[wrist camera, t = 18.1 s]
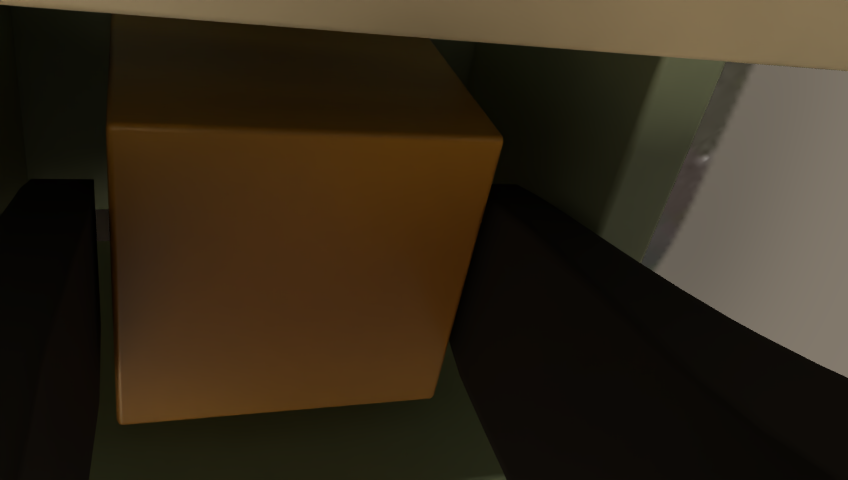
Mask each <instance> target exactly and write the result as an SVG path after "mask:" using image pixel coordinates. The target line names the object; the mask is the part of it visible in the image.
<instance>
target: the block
mask: <svg viewBox="0 0 848 480" xmlns="http://www.w3.org/2000/svg"><path fill="white" fill-rule="evenodd" d="M502 145H503V136H502V135H501V133H500V132H499V131H498V129H497V128H496V127H495V125H494V124H493V123H492V121H491V120H490V119H489V117H488V116H487V115H486V113H485V112H484V111H483V109H482V108H481V107H480V105H479V104H478V103H477V101H476V100H475V99H474V97H473V96H472V95H471V93H470V92H469V91H468V89H467V88H466V87H465V85H464V84H463V83H462V81H461V80H460V79H459V77H458V76H457V75H456V73H455V72H454V71H453V69H452V68H451V67H450V65H449V64H448V63H447V61H446V60H445V59H444V57H443V56H442V55H441V53H440V52H439V51H438V49H437V48H436V47H435V45H434V44H433V43H432V41H431V40H430V39H429V38H419V37H406V36H393V35H381V34H368V33H355V32H342V31H330V30H317V29H304V28H291V27H279V26H266V25H253V24H240V23H227V22H215V21H202V20H189V19H176V18H164V17H151V16H138V15H125V14H112V13H111V26H110V47H109V67H108V88H107V108H106V153H107V179H108V206H109V232H110V259H111V286H112V312H113V339H114V365H115V392H116V419H117V421H118V423H119V424H121V425H129V424H141V423H152V422H164V421H175V420H187V419H198V418H210V417H222V416H233V415H245V414H256V413H268V412H280V411H291V410H303V409H314V408H326V407H338V406H349V405H361V404H372V403H384V402H396V401H407V400H419V399H430V398H432V397H433V396H434V393H435V389H436V386H437V382H438V378H439V375H440V371H441V367H442V364H443V360H444V356H445V353H446V349H447V345H448V342H449V338H450V335H451V331H452V327H453V324H454V320H455V316H456V313H457V309H458V305H459V302H460V298H461V295H462V291H463V287H464V284H465V280H466V276H467V273H468V269H469V265H470V262H471V258H472V254H473V251H474V247H475V244H476V240H477V236H478V233H479V229H480V225H481V222H482V218H483V214H484V211H485V207H486V204H487V200H488V196H489V193H490V189H491V185H492V182H493V178H494V174H495V171H496V167H497V163H498V160H499V156H500V153H501V149H502Z"/></svg>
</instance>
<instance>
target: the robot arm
mask: <svg viewBox="0 0 848 480" xmlns="http://www.w3.org/2000/svg"><path fill="white" fill-rule="evenodd" d="M449 342H450V346H451V349H452V352H453V356H454V359H455V362H456V365H457V369H458V372H459V375H460V377H461V380H462V382H463V384H464V387H465V389H466V391H467V394H468V396H469V398H470V400H471V403H472V405H473V407H474V409H475V412H476V414H477V416H478V418H479V421H480V423H481V425H482V427H483V429H484V432H485V434H486V436H487V438H488V440H489V443H490V445H491V447H492V449H493V451H494V453H495V456H496V458H497V460H498V462H499V464H500V467H501V469H502V471H503V473H504V475H505V477H506V480H848V378H847V377H845V376H843V375H840V374H838V373H836V372H834V371H831V370H830V369H827V368H825V367H823V366H820V365H819V364H817V363H815V362H813V361H811V360H809V359H807V358H805V357H803V356H801V355H799V354H797V353H795V352H793V351H791V350H789V349H787V348H785V347H783V346H781V345H779V344H777V343H775V342H773V341H771V340H770V339H767V338H766V337H764V336H762V335H760V334H758V333H756V332H754V331H752V330H751V329H749V328H747V327H745V326H743V325H741V324H739V323H738V322H736V321H734V320H732V319H731V318H729V317H727V316H725V315H724V314H722V313H720V312H719V311H717V310H715V309H714V308H712V307H710V306H709V305H707V304H705V303H704V302H702V301H700V300H699V299H697V298H695V297H693V296H692V295H690V294H688V293H687V292H685V291H683V290H682V289H680V288H679V287H677V286H675V285H674V284H672V283H671V282H669V281H667V280H666V279H664V278H663V277H661V276H660V275H658V274H656V273H655V272H653V271H652V270H650V269H649V268H647V267H646V266H644V265H642V264H641V263H639V262H638V261H636V260H635V259H633V258H632V257H630V256H629V255H627V254H626V253H624V252H623V251H621V250H620V249H618V248H617V247H615V246H614V245H612V244H611V243H609V242H608V241H606V240H605V239H603V238H602V237H600V236H599V235H597V234H596V233H594V232H593V231H591V230H590V229H588V228H587V227H585V226H584V225H582V224H581V223H579V222H578V221H576V220H575V219H573V218H572V217H570V216H569V215H567V214H566V213H564V212H563V211H561V210H559V209H558V208H556V207H555V206H553V205H552V204H550V203H549V202H547V201H545V200H544V199H542V198H540V197H539V196H537V195H535V194H534V193H532V192H530V191H528V190H526V189H524V188H523V187H521V186H519V185H517V184H492V185H491V189H490V193H489V196H488V200H487V204H486V207H485V211H484V214H483V218H482V222H481V225H480V229H479V233H478V236H477V240H476V244H475V247H474V251H473V254H472V258H471V262H470V265H469V269H468V273H467V276H466V280H465V284H464V287H463V291H462V295H461V298H460V302H459V305H458V309H457V313H456V316H455V320H454V324H453V327H452V331H451V335H450V338H449ZM100 349H101V315H100V295H99V275H98V254H97V234H96V214H95V193H94V179H30V180H29V181H28V182H27V183H26V184H24V185H23V186H22V187H21V188H20V189H19V190H18V192H17V193H16V195H15V196H14V198H13V199H12V200H11V202H10V203H9V205H8V206H7V207H6V209H5V210H4V211H3V213H2V214H1V215H0V480H89V475H90V468H91V461H92V453H93V446H94V439H95V432H96V424H97V417H98V409H99V398H100Z"/></svg>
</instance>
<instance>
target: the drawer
mask: <svg viewBox="0 0 848 480" xmlns="http://www.w3.org/2000/svg"><path fill="white" fill-rule="evenodd" d="M110 26H111V13H100V12H87V11H74V10H61V9H49V8H36V7H23V6H10V5H0V215H1V214H2V213H3V211H4V210H5V209H6V207H7V206H8V205H9V203H10V202H11V200H12V199H13V198H14V196H15V195H16V193H17V192H18V190H19V189H20V188H21V187H22V186H23V185H24V184H26V183H27V182H28V181H29V180H30V179H94V193H95V209H109V206H108V179H107V153H106V108H107V88H108V67H109V47H110ZM429 39H430V40H431V41H432V43H433V44H434V45H435V47H436V48H437V49H438V51H439V52H440V53H441V55H442V56H443V57H444V59H445V60H446V61H447V63H448V64H449V65H450V67H451V68H452V69H453V71H454V72H455V73H456V75H457V76H458V77H459V79H460V80H461V81H462V83H463V84H464V85H465V87H466V88H467V89H468V91H469V92H470V93H471V95H472V96H473V97H474V99H475V100H476V101H477V103H478V104H479V105H480V107H481V108H482V109H483V111H484V112H485V113H486V115H487V116H488V117H489V119H490V120H491V121H492V123H493V124H494V125H495V127H496V128H497V129H498V131H499V132H500V133H501V135H502V136H503V145H502V149H501V153H500V156H499V160H498V163H497V167H496V171H495V174H494V178H493V182H492V184H517V185H519V186H521V187H523V188H524V189H526V190H528V191H530V192H532V193H534V194H535V195H537V196H539V197H540V198H542V199H544V200H545V201H547V202H549V203H550V204H552V205H553V206H555V207H556V208H558V209H559V210H561V211H563V212H564V213H566V214H567V215H569V216H570V217H572V218H573V219H575V220H576V221H578V222H579V223H581V224H582V225H584V226H585V227H587V228H588V229H590V230H591V231H593V232H594V233H596V234H597V235H599V236H600V237H602V238H603V239H605V240H606V241H608V242H609V243H611V244H612V245H614V246H615V247H617V248H618V249H620V250H621V251H623V252H624V253H626V254H627V255H629V256H630V257H632V258H633V259H635V260H636V261H638V262H639V263H641V262H642V260H643V257H644V255H645V252H646V250H647V248H648V245H649V243H650V241H651V238H652V236H653V234H654V231H655V229H656V226H657V224H658V222H659V219H660V217H661V215H662V212H663V210H664V208H665V205H666V203H667V200H668V198H669V196H670V193H671V191H672V189H673V186H674V184H675V182H676V179H677V177H678V174H679V172H680V170H681V167H682V165H683V163H684V160H685V158H686V156H687V153H688V151H689V148H690V146H691V144H692V141H693V139H694V137H695V134H696V132H697V129H698V127H699V125H700V122H701V120H702V118H703V115H704V113H705V111H706V108H707V106H708V103H709V101H710V99H711V96H712V94H713V92H714V89H715V87H716V85H717V82H718V80H719V77H720V75H721V73H722V70H723V68H724V66H725V63H726V61H713V60H700V59H687V58H675V57H662V56H649V55H636V54H623V53H611V52H598V51H585V50H572V49H560V48H547V47H534V46H521V45H508V44H496V43H483V42H470V41H457V40H445V39H432V38H429ZM97 254H98V275H99V295H100V315H101V349H100V398H99V409H98V417H97V424H96V432H95V439H94V446H93V453H92V461H91V468H90V475H89V480H506V477H505V475H504V473H503V471H502V469H501V467H500V464H499V462H498V460H497V458H496V456H495V453H494V451H493V449H492V447H491V445H490V443H489V440H488V438H487V436H486V434H485V432H484V429H483V427H482V425H481V423H480V421H479V418H478V416H477V414H476V412H475V409H474V407H473V405H472V403H471V400H470V398H469V396H468V394H467V391H466V389H465V387H464V384H463V382H462V380H461V377H460V375H459V372H458V369H457V365H456V362H455V359H454V356H453V352H452V349H451V346H450V342H448V345H447V349H446V353H445V356H444V360H443V364H442V367H441V371H440V375H439V378H438V382H437V386H436V389H435V393H434V396H433V397H432V398H430V399H419V400H407V401H396V402H384V403H372V404H361V405H349V406H338V407H326V408H314V409H303V410H291V411H280V412H268V413H256V414H245V415H233V416H222V417H210V418H198V419H187V420H175V421H164V422H152V423H141V424H129V425H121V424H119V423H118V421H117V419H116V392H115V365H114V339H113V312H112V286H111V259H110V241H97Z"/></svg>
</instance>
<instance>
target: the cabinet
mask: <svg viewBox="0 0 848 480" xmlns="http://www.w3.org/2000/svg"><path fill="white" fill-rule="evenodd" d="M0 5H10V6H23V7H36V8H49V9H61V10H74V11H87V12H100V13H112V14H125V15H138V16H151V17H164V18H176V19H189V20H202V21H215V22H227V23H240V24H253V25H266V26H279V27H291V28H304V29H317V30H330V31H342V32H355V33H368V34H381V35H393V36H406V37H419V38H432V39H445V40H457V41H470V42H483V43H496V44H508V45H521V46H534V47H547V48H560V49H572V50H585V51H598V52H611V53H623V54H636V55H649V56H662V57H675V58H687V59H700V60H713V61H726V62H738V63H751V64H764V65H777V66H791V67H802V68H815V69H829V70H841V71H848V0H0Z"/></svg>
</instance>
